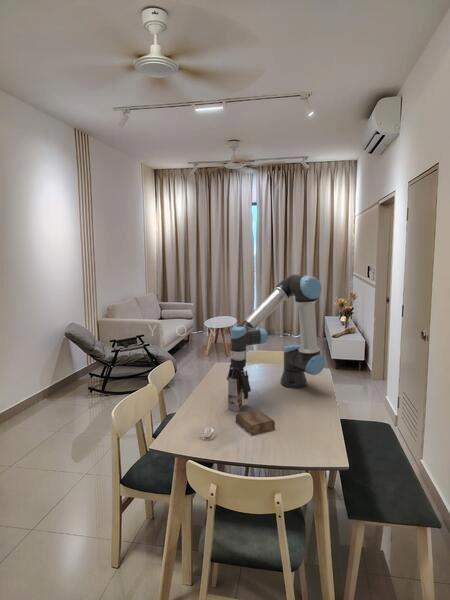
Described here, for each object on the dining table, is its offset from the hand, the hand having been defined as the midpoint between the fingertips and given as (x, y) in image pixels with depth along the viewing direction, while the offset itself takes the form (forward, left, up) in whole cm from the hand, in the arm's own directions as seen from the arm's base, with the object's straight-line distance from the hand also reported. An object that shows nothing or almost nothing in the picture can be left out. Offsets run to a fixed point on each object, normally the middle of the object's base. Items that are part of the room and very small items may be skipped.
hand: (238, 399), depth 191 cm
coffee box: (0, 0, -4) cm, 4 cm away
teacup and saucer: (+23, +21, -5) cm, 31 cm away
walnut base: (+3, +21, -4) cm, 22 cm away
